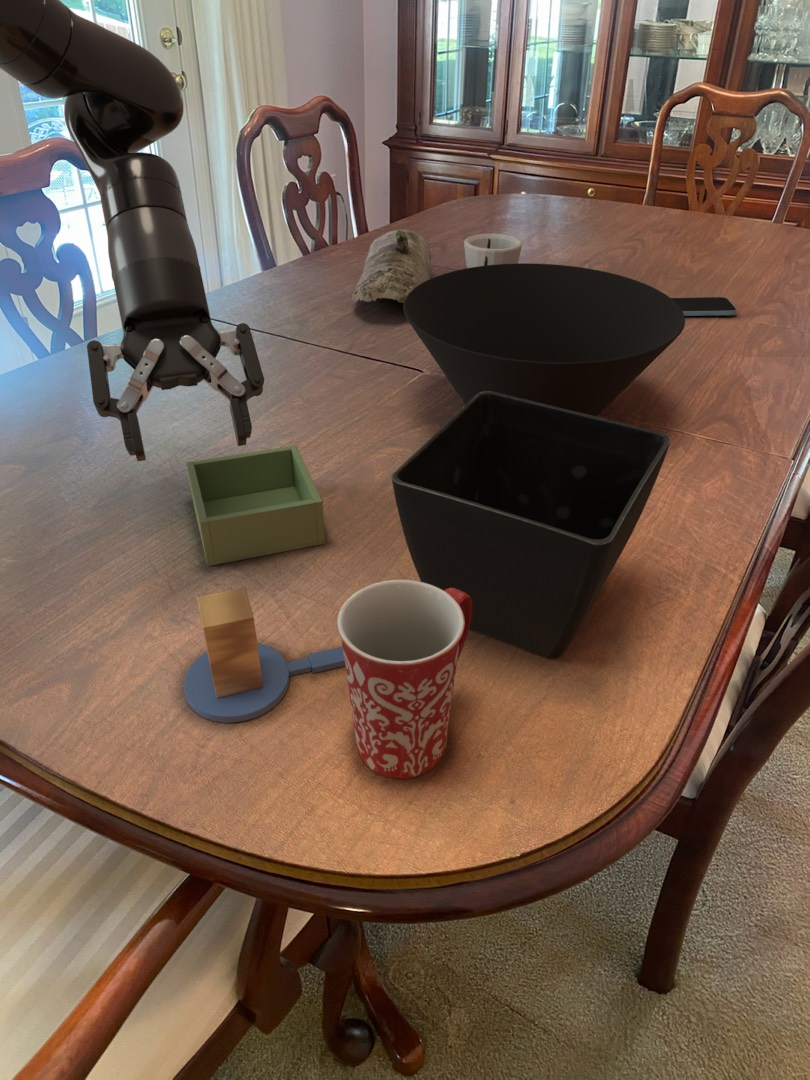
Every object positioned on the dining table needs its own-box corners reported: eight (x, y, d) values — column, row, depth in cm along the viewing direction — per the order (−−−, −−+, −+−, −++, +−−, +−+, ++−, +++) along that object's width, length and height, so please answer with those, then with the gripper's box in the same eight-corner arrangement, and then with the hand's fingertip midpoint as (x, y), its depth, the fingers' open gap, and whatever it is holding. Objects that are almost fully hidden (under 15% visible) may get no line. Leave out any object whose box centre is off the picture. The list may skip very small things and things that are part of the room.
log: (349, 273, 133) (365, 204, 155) (347, 336, 141) (362, 262, 163) (433, 281, 133) (436, 212, 155) (426, 344, 141) (430, 269, 163)
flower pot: (580, 701, 69) (609, 542, 59) (388, 628, 77) (385, 476, 67) (642, 580, 83) (674, 433, 73) (473, 528, 90) (482, 388, 80)
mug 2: (462, 305, 147) (464, 249, 141) (460, 279, 159) (462, 226, 153) (520, 306, 147) (525, 250, 141) (514, 279, 159) (518, 226, 153)
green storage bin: (207, 566, 85) (199, 523, 81) (193, 503, 94) (185, 462, 91) (325, 543, 88) (322, 501, 85) (299, 485, 97) (296, 444, 94)
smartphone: (642, 297, 148) (726, 296, 147) (642, 303, 148) (725, 302, 148) (651, 312, 142) (738, 310, 141) (650, 318, 143) (737, 316, 142)
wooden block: (216, 698, 68) (202, 627, 64) (210, 666, 72) (196, 596, 67) (263, 687, 70) (253, 617, 65) (255, 656, 73) (245, 587, 68)
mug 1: (405, 811, 60) (406, 683, 53) (321, 747, 65) (310, 620, 57) (506, 715, 68) (519, 590, 60) (424, 664, 73) (426, 542, 65)
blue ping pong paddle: (191, 734, 66) (189, 727, 66) (179, 660, 73) (178, 654, 73) (400, 683, 71) (400, 677, 71) (371, 618, 78) (370, 612, 78)
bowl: (514, 510, 93) (525, 390, 84) (355, 395, 117) (352, 292, 108) (719, 429, 109) (746, 320, 100) (542, 342, 133) (552, 249, 124)
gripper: (64, 262, 66) (100, 451, 64) (239, 246, 70) (278, 424, 68) (79, 304, 74) (111, 476, 71) (237, 287, 77) (272, 450, 75)
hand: (192, 450), depth 70 cm, fingers open, 8 cm apart
